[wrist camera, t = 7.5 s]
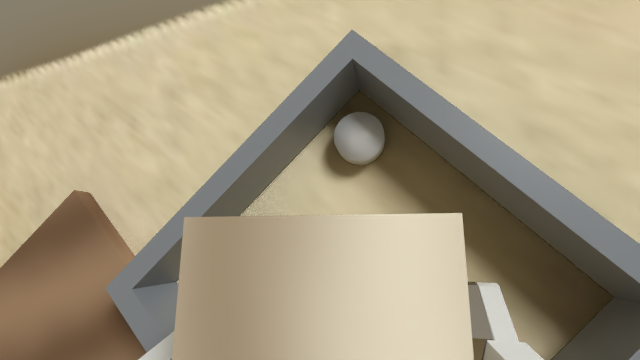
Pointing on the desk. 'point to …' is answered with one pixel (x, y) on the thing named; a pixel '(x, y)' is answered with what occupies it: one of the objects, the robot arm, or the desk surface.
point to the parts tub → (363, 148)
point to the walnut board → (66, 290)
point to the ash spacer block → (323, 288)
